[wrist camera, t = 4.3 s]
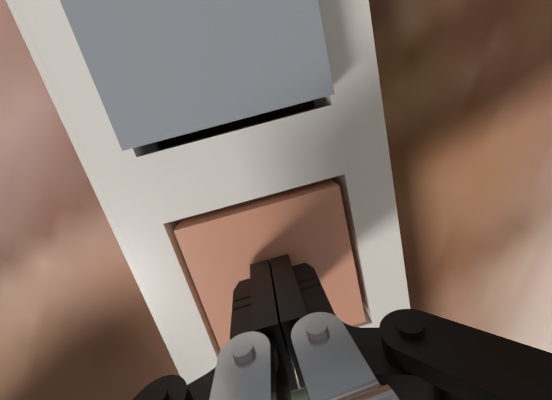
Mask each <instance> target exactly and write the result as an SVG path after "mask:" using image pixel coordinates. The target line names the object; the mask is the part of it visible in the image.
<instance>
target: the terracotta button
mask: <svg viewBox="0 0 552 400" xmlns="http://www.w3.org/2000/svg"><path fill="white" fill-rule="evenodd" d="M174 233H175V236H176V238H177V241H178V243H179V246H180V248H181V251H182V253H183V256H184V258H185V261H186V264H187V266H188V269H189V271H190V274H191V276H192V279H193V281H194V284H195V286H196V289H197V291H198V294H199V296H200V299H201V302H202V304H203V307H204V309H205V312H206V314H207V317H208V319H209V322H210V324H211V327H212V329H213V332H214V335H215V337H216V340H217V342H218V345H219V347H220V350H221V349H222V348H223V347H224V345H225V344H226V343H227V342H228V341H229V340H230V327H231V314H232V303H233V291H234V289H235V287H236V286H237V284H238V283H239V281H242V280H245V279H249V278H250V264H253V263H257V262H260V261H264V260H268V259H269V262H270V259H271V258H274V257H278V256H282V255H285V254H288V255H289V258H290V261H291V264H292V266H295V265H298V264H302V263H307V264H308V265H310V266H312V267H313V268H314V269H315V271H316V274H317V276H318V278H319V280H320V282H321V285H322V287H323V289H324V291H325V293H326V296H327V298H328V300H329V302H330V304H331V307H332V309H333V311H334V313H335V315H336V316H337V317H338V318H339V319H340V320H341V321H342V322H344V323H345V324H348V325H350V326H353V325H356V324H359V323H363V322H366V320H365V315H364V310H363V304H362V299H361V294H360V289H359V284H358V279H357V274H356V268H355V263H354V258H353V253H352V248H351V243H350V238H349V232H348V227H347V222H346V217H345V212H344V207H343V202H342V196H341V191H340V186H339V185H338V184H337V183H335V182H334V181H333V180H331V179H330V178H329V179H325V180H322V181H318V182H314V183H311V184H307V185H303V186H300V187H296V188H292V189H289V190H285V191H282V192H278V193H274V194H271V195H267V196H263V197H260V198H256V199H252V200H249V201H245V202H241V203H238V204H234V205H230V206H227V207H223V208H220V209H216V210H212V211H209V212H205V213H201V214H198V215H194V216H190V217H187V218H183V219H181V220H180V222H179V223H178V225H177V227H176V228H175V230H174ZM270 265H271V262H270Z"/></svg>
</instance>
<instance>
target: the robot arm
mask: <svg viewBox="0 0 552 400" xmlns="http://www.w3.org/2000/svg"><path fill="white" fill-rule="evenodd" d="M270 262H271V265H270ZM270 262H269V259H268V260H264V261H260V262H257V263H253V264H250V278H249V279H245V280H242V281H239V283H238V284H237V286H236V287H235V289H234V291H233V303H232V314H231V327H230V340H229V341H228V342H227V343H226V344H225V345H224V347H223V348H222V349H221V351H220V353H219V356H218V359H217V364H216V367H215V368H214V369H212V370H211V371H210V372H208V373H207V374H205V375H203V376H202V377H200V378H198V379H196V380H195V381H193V382H191V383H190V384H188V385H187V384H186V382H185V380H184V379H183V378H182V377H180V376H178V375H168V376H164V377H161V378H159V379H157V380H155V381H153V382H152V383H150V384H149V385H148V386H146V387H145V388H144V389H143V390H142V391H141V392H140V393H139V394H138V395H137V396H136V397H135V398H134V399H133V400H292V399H291V391H294V390H298V384H297V379H296V375H297V378H298V381H299V385H300V388H304V387H306V390H307V394H308V397H309V400H552V353H549V352H546V351H543V350H540V349H537V348H534V347H531V346H528V345H525V344H522V343H519V342H515V341H512V340H509V339H506V338H503V337H500V336H497V335H494V334H491V333H488V332H485V331H482V330H478V329H475V328H472V327H469V326H466V325H463V324H460V323H457V322H454V321H451V320H448V319H444V318H441V317H438V316H435V315H432V314H429V313H426V312H423V311H419V310H414V309H400V310H396V311H393V312H390V313H388V314H387V315H386V316H385V317H384V318H383V319H382V320H381V322H380V326H379V327H378V328H360V327H354V326H350V325H348V324H345V323H344V322H342V321H341V320H340V319H339V318H338V317H337V316H336V315H335V313H334V311H333V309H332V307H331V304H330V302H329V300H328V298H327V296H326V293H325V291H324V289H323V287H322V285H321V282H320V280H319V278H318V276H317V274H316V271H315V269H314V268H313V267H312V266H310V265H308V264H307V263H302V264H298V265H295V266H292V264H291V261H290V258H289V255H288V254H285V255H282V256H278V257H274V258H271V259H270ZM294 368H295V369H294ZM295 371H296V374H295Z"/></svg>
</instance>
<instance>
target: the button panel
mask: <svg viewBox="0 0 552 400" xmlns="http://www.w3.org/2000/svg"><path fill="white" fill-rule="evenodd" d="M6 2H7V4H8V6H9V8H10V10H11V12H12V14H13V17H14V19H15V21H16V23H17V25H18V27H19V30H20V32H21V34H22V36H23V38H24V40H25V43H26V45H27V47H28V49H29V51H30V53H31V55H32V58H33V60H34V62H35V64H36V66H37V68H38V71H39V73H40V75H41V77H42V79H43V81H44V83H45V86H46V88H47V90H48V92H49V94H50V96H51V99H52V101H53V103H54V105H55V107H56V109H57V111H58V114H59V116H60V118H61V120H62V122H63V124H64V127H65V129H66V131H67V133H68V135H69V137H70V140H71V142H72V144H73V146H74V148H75V150H76V152H77V155H78V157H79V159H80V161H81V163H82V165H83V168H84V170H85V172H86V174H87V176H88V178H89V180H90V183H91V185H92V187H93V189H94V191H95V193H96V196H97V198H98V200H99V202H100V204H101V206H102V208H103V211H104V213H105V215H106V217H107V219H108V221H109V224H110V226H111V228H112V230H113V232H114V234H115V237H116V239H117V241H118V243H119V245H120V247H121V249H122V252H123V254H124V256H125V258H126V260H127V262H128V265H129V267H130V269H131V271H132V273H133V275H134V277H135V280H136V282H137V284H138V286H139V288H140V290H141V293H142V295H143V297H144V299H145V301H146V303H147V305H148V308H149V310H150V312H151V314H152V316H153V318H154V321H155V323H156V325H157V327H158V329H159V331H160V334H161V336H162V338H163V340H164V342H165V344H166V346H167V349H168V351H169V353H170V355H171V357H172V359H173V362H174V364H175V366H176V368H177V370H178V372H179V374H180V377H182V378H183V379H184V380H185V382H186V384H187V385H188V384H190V383H191V382H193V381H195V380H196V379H198V378H200V377H202V376H203V375H205V374H207V373H208V372H210V371H211V370H212V369H214V368H215V367H216V364H217V359H218V356H219V353H220V351H221V350H220V347H219V345H218V342H217V340H216V337H215V335H214V332H213V329H212V327H211V324H210V322H209V319H208V317H207V314H206V312H205V309H204V307H203V304H202V302H201V299H200V296H199V294H198V291H197V289H196V286H195V284H194V281H193V279H192V276H191V274H190V271H189V269H188V266H187V264H186V261H185V258H184V256H183V253H182V251H181V248H180V246H179V243H178V241H177V238H176V236H175V233H174V230H175V228H176V227H177V225H178V223H179V222H180V220H181V219H183V218H187V217H190V216H194V215H198V214H201V213H205V212H209V211H212V210H216V209H220V208H223V207H227V206H230V205H234V204H238V203H241V202H245V201H249V200H252V199H256V198H260V197H263V196H267V195H271V194H274V193H278V192H282V191H285V190H289V189H292V188H296V187H300V186H303V185H307V184H311V183H314V182H318V181H322V180H325V179H329V178H330V179H331V180H333V181H334V182H335V183H337V184H338V185H339V186H340V191H341V196H342V202H343V207H344V212H345V217H346V222H347V227H348V232H349V238H350V243H351V248H352V253H353V258H354V263H355V268H356V274H357V279H358V284H359V289H360V294H361V299H362V304H363V310H364V315H365V320H366V322H363V323H359V324H356V325H353V326H354V327H360V328H378V327H379V326H380V322H381V320H382V319H383V318H384V317H385V316H386V315H387V314H388V313H390V312H393V311H396V310H400V309H410V303H409V295H408V288H407V280H406V273H405V266H404V258H403V251H402V243H401V236H400V229H399V221H398V214H397V206H396V199H395V192H394V184H393V177H392V169H391V162H390V155H389V147H388V140H387V132H386V125H385V118H384V110H383V103H382V95H381V88H380V81H379V73H378V66H377V58H376V51H375V44H374V36H373V29H372V21H371V14H370V7H369V0H318V4H319V10H320V15H321V21H322V26H323V32H324V37H325V43H326V48H327V54H328V59H329V65H330V70H331V76H332V82H333V87H334V93H335V94H333V95H330V96H326V97H323V98H319V99H315V100H313V103H314V108H312V109H308V110H304V111H301V112H297V113H293V114H289V115H286V116H282V117H278V118H274V119H271V120H267V121H263V122H260V123H256V124H252V125H248V126H245V127H241V128H237V129H233V130H230V131H226V132H222V133H219V134H215V135H211V136H207V137H204V138H200V139H196V140H192V141H189V142H185V143H181V144H178V145H174V146H170V147H166V148H163V149H159V147H158V145H157V142H155V143H151V144H147V145H143V146H139V147H136V148H132V149H128V150H124V151H122V149H121V147H120V144H119V142H118V139H117V137H116V135H115V132H114V130H113V127H112V125H111V122H110V120H109V118H108V115H107V113H106V110H105V108H104V106H103V103H102V101H101V98H100V96H99V94H98V91H97V89H96V86H95V84H94V82H93V79H92V77H91V74H90V72H89V69H88V67H87V65H86V62H85V60H84V57H83V55H82V53H81V50H80V48H79V45H78V43H77V41H76V38H75V36H74V33H73V31H72V29H71V26H70V24H69V21H68V19H67V16H66V14H65V12H64V9H63V7H62V4H61V2H60V0H6ZM294 369H295V368H294ZM295 374H296V371H295ZM296 379H297V384H298V390H299V389H303V388H300V385H299V381H298V378H297V375H296ZM304 388H306V387H304ZM294 391H296V390H294ZM291 392H293V391H291Z"/></svg>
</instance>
